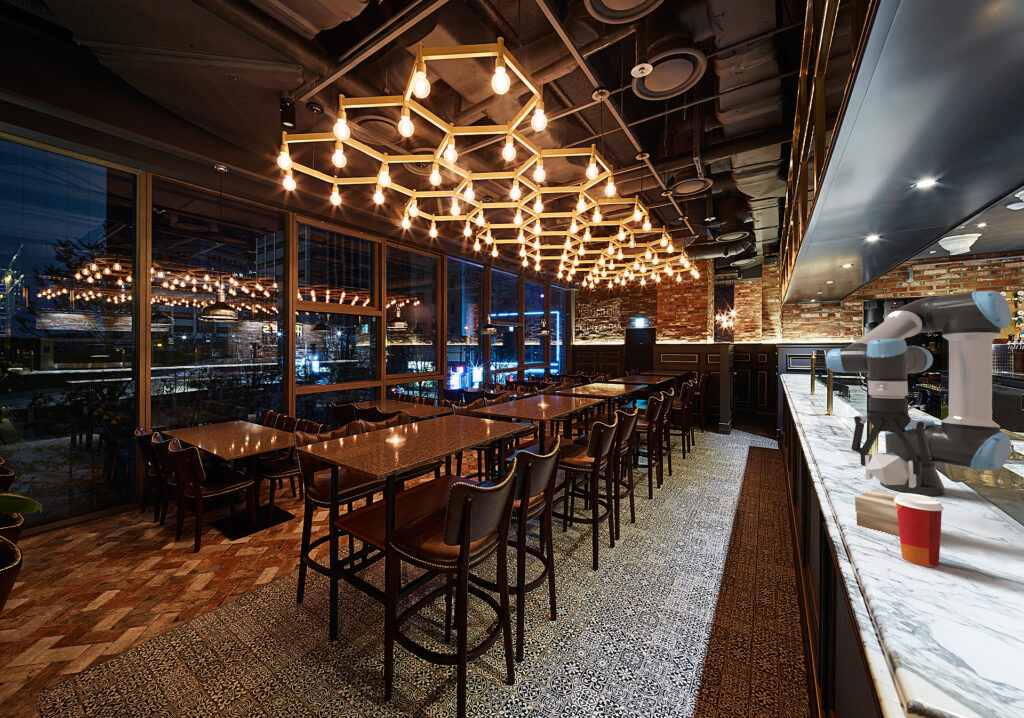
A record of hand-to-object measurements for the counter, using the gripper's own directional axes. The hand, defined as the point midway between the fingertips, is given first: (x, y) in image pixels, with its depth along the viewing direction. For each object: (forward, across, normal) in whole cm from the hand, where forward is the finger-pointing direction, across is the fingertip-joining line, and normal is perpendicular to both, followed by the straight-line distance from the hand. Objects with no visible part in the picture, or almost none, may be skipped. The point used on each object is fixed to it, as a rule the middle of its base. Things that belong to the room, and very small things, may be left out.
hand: (890, 482), depth 102 cm
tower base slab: (+13, 0, 0) cm, 13 cm away
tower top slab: (+9, 0, 0) cm, 9 cm away
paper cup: (+12, +8, -17) cm, 23 cm away
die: (0, 0, 0) cm, 0 cm away
